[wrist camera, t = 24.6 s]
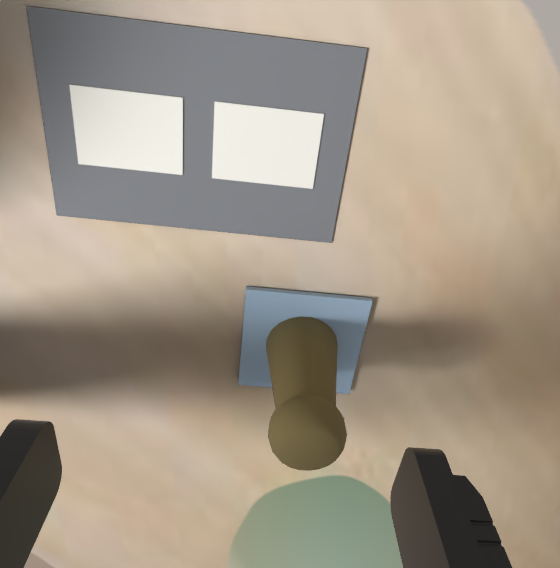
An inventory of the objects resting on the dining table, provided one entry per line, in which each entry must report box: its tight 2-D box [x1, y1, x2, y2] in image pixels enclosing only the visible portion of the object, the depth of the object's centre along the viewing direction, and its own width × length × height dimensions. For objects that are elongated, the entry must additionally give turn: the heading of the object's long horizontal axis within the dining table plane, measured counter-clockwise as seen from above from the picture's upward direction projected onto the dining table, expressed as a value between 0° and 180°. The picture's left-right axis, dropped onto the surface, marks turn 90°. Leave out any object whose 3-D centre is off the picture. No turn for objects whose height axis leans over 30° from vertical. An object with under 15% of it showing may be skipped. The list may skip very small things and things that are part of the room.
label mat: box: [26, 6, 367, 243], centre depth 31 cm, size 20×13×1 cm, turn 84°
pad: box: [238, 286, 373, 394], centre depth 39 cm, size 10×10×1 cm
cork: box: [266, 316, 347, 470], centre depth 34 cm, size 6×6×11 cm
